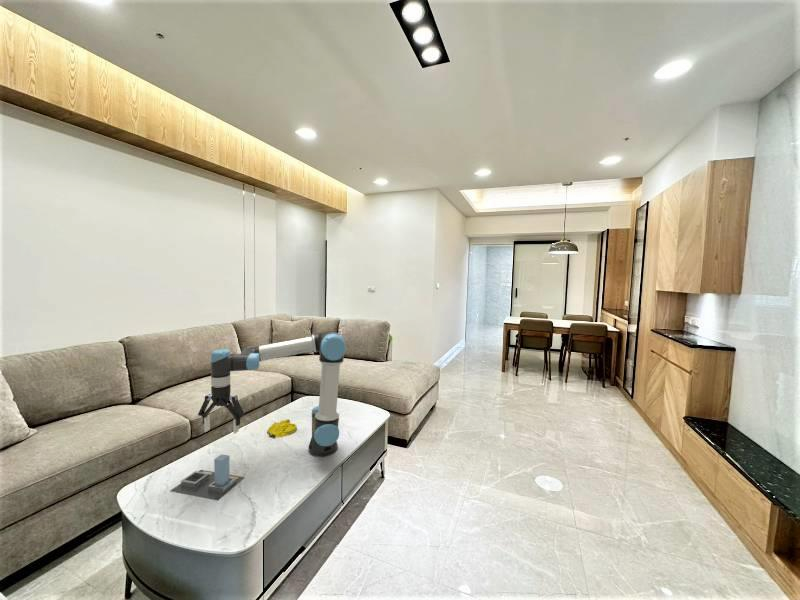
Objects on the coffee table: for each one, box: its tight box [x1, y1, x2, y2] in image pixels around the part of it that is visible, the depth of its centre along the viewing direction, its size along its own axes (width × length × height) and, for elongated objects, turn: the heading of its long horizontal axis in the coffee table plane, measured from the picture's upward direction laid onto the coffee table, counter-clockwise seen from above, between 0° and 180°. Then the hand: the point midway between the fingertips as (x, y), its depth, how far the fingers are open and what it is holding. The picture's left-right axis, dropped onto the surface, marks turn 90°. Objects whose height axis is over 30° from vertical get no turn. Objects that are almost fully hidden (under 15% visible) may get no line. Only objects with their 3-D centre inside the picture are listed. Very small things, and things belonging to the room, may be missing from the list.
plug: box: [213, 454, 231, 487], centre depth 141 cm, size 4×5×13 cm
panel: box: [170, 469, 246, 501], centre depth 143 cm, size 24×16×3 cm, turn 77°
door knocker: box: [266, 419, 297, 439], centre depth 196 cm, size 17×16×4 cm
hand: (221, 431), depth 146 cm, fingers open, 13 cm apart
